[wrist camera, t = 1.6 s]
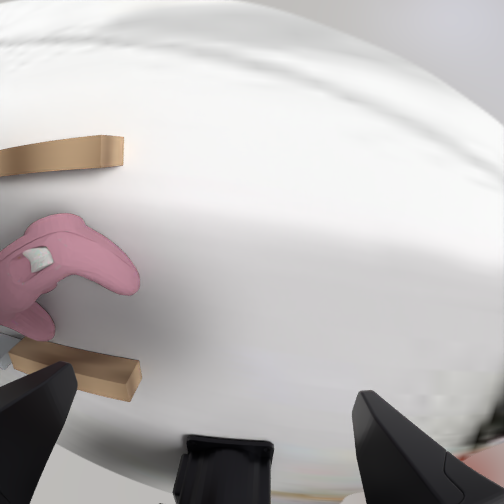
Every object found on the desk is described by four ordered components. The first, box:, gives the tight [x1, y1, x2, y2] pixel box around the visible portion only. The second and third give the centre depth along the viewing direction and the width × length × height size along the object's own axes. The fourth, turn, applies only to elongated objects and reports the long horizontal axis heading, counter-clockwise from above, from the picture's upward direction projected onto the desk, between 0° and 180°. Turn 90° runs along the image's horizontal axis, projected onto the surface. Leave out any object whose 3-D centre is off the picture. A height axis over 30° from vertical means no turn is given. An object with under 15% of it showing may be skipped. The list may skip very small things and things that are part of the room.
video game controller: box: [0, 213, 140, 341], centre depth 14 cm, size 10×5×7 cm, turn 118°
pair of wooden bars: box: [0, 135, 142, 402], centre depth 16 cm, size 10×15×2 cm, turn 177°
